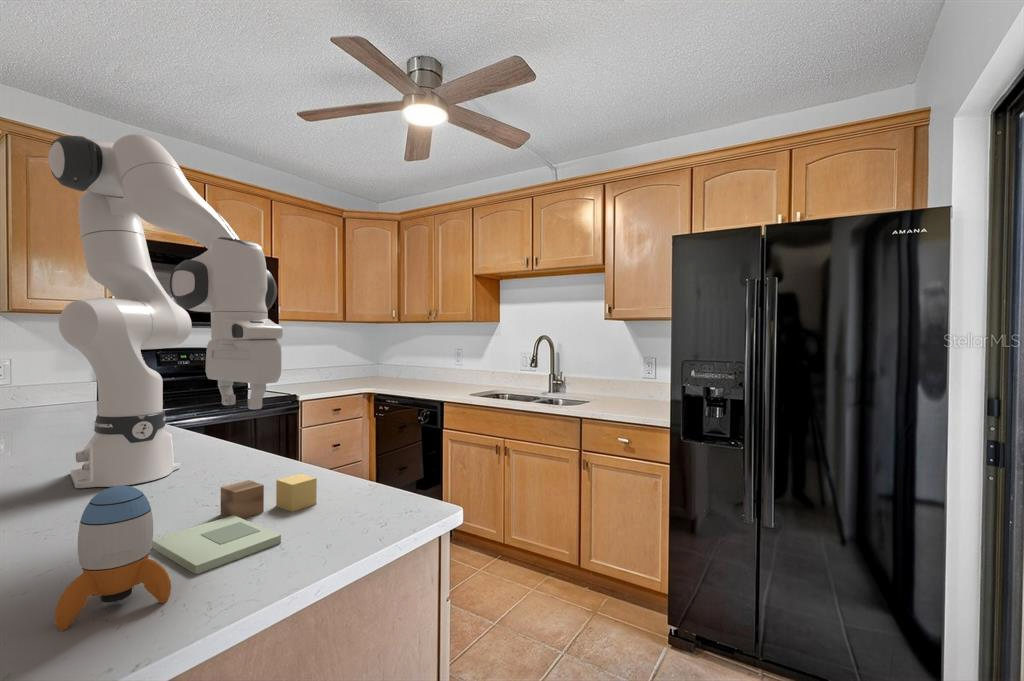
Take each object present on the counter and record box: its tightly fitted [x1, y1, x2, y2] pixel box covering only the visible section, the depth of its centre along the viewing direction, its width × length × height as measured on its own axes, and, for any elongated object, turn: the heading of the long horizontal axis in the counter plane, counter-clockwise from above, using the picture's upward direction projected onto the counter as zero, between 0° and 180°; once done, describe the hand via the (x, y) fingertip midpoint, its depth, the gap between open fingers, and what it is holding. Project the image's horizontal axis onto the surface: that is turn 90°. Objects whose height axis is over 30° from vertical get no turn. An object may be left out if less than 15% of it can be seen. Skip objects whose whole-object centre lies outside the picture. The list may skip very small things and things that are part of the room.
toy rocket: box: [54, 485, 172, 632], centre depth 58 cm, size 10×11×15 cm
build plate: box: [151, 515, 282, 575], centre depth 74 cm, size 14×12×1 cm
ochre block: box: [275, 473, 318, 513], centre depth 91 cm, size 5×5×5 cm
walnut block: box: [220, 479, 265, 519], centre depth 87 cm, size 5×5×5 cm
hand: (241, 406), depth 86 cm, fingers open, 8 cm apart
